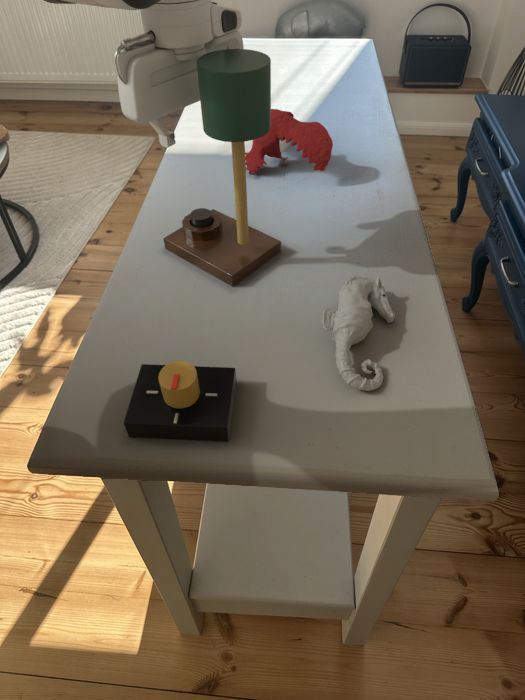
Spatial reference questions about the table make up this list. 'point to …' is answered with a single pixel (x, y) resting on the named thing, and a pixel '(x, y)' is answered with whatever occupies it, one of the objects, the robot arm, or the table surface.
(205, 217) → the button
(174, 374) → the dimmer knob
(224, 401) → the dimmer
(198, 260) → the lamp base
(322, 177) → the table surface
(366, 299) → the seahorse
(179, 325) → the table surface
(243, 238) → the lamp
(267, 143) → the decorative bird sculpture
